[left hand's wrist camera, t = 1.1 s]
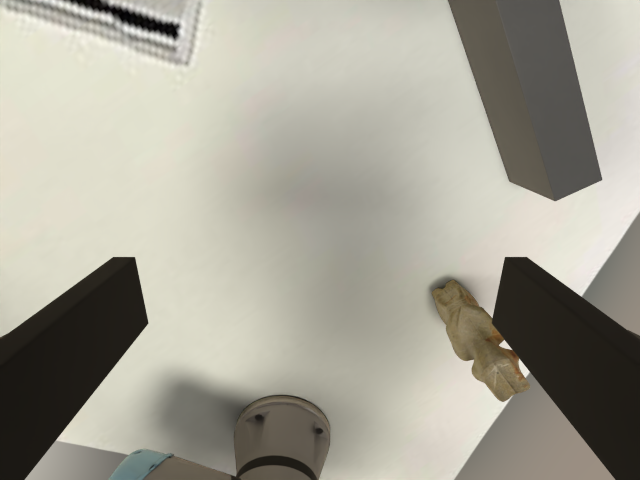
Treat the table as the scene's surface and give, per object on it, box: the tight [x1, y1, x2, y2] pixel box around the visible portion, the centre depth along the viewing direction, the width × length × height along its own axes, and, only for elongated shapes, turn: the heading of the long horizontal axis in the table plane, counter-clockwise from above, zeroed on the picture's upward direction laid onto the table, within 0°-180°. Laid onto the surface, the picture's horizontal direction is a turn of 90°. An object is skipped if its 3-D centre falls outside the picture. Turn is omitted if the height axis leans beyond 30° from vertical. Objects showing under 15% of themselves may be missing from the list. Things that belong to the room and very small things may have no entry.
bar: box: [448, 0, 602, 201], centre depth 33 cm, size 28×4×9 cm, turn 28°
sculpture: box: [432, 280, 530, 402], centre depth 41 cm, size 6×7×15 cm
